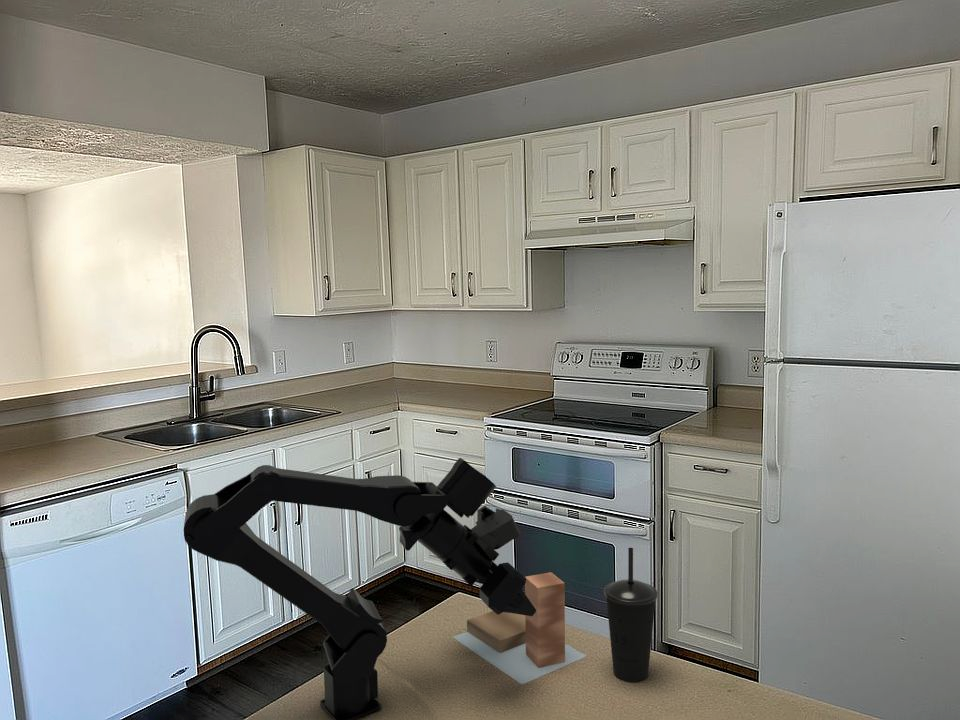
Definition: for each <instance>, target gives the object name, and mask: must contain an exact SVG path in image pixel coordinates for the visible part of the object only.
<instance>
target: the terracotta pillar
mask: <svg viewBox="0 0 960 720" xmlns="http://www.w3.org/2000/svg"><path fill="white" fill-rule="evenodd" d="M524 577H525V578H526V583H525V584H524V593H525V595H526V596H527V598H528V599H529V600H530V602H531V603H532V605H533V606H534V607H535V609H536V612H535V614H534V615H533V616H526V615H525V628H526V655H527V656H528V657H529V658H530V659H531V660H532V662H533V663H534V664H535V665H536V666H537V667H538V668H541V667H546V666H550V665H554V664H559V663H563V662H565V644H566V614H565V613H566V611H565V609H566V608H565V606H566V603H565V602H566V601H565V600H566V599H565V597H566V596H565V589H566V588H565V587H566V586H565V582H564V581H563V580H562V579H560V578H559V577H558V576H556V575H555V574H554V573H553V572H552V571H551V572H550V571H549V572H545V573H539V574H533V575H528V576H524Z"/></svg>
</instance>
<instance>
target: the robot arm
mask: <svg viewBox="0 0 960 720" xmlns="http://www.w3.org/2000/svg"><path fill="white" fill-rule="evenodd" d="M496 488H497V486H496V485H495V483H494V482H493V481H492V480H490V479H489V478H488V477H487V476H486V475H485V474H483V473H482V472H480V471H479V470H477V469H476V468H474V466H473V465H470V463H468V461H466V460H464V459H463V458H462V457H459V458H458V459H457V460H456V462H454V464H453V466H452V467H451V469H450V470H449V472H448V473H447V474H446V475H445V476H444V477H443V478H442V480H441V481H440V482H439V483H438V485H436V484H435V483H434V482H431V481H412V480H411V479H410V478H408V477H406V476H405V475H398V474H397V475H377V476H372V477H367V478H351V477H345V476H338V475H330V474H329V475H328V474H321V473H314V472H307V471H300V470H294V469H285V468H278V467H275V466H272V465H270V464H264V465H262V464H261V465H260V466H257V467H256V468H255V469H254V470H253V471H251V472H249V473H248V474H247V475H245V476H243V477H241V478H240V479H237V480H235V481H233V482H231V483H229V484H227V485H226V486H224V487H223V488H221V489H220V490H218V491H216V492H215V493H213V494H206V495H205V494H204V495H202V496H200V497H197V498H195V499H194V500H193V501H192V502H190V504H189V506H188V507H187V508H186V511H185V515H184V522H183V538H184V541H185V543H186V545H187V546H188V547H189V549H192V550H193V551H195V552H197V553H198V554H199V553H200V554H201V555H203V556H206V557H208V558H210V559H212V560H215V561H217V562H221V563H226V564H230V565H234V566H237V567H239V568H241V569H242V570H244V572H246V573H248V574H250V576H252V577H254V578H255V579H257V581H259V582H261V583H262V584H263V585H264V586H266V587H268V588H270V589H271V590H272V591H273V592H275V593H276V594H278V595H279V596H280V597H282V598H283V599H285V600H286V601H288V602H289V603H290V604H292V605H293V606H295V607H296V608H298V609H299V610H300V611H302V612H303V613H305V614H306V615H308V616H309V618H310V617H311V619H313V620H315V621H316V622H318V624H320V625H321V626H322V627H323V628H324V629H325V631H326V632H327V634H328V636H326V638H325V639H324V640H323V642H322V644H323V647H324V651H325V653H326V656H327V660H328V663H329V664H328V665H325V666H323V682H324V683H323V685H324V699H321V700H320V706H321V708H323V710H324V711H325V712H326V713H327V714H328V715H329V716H330V717H331V719H332V720H357V719H360V718H363V717H365V716H368V715H371V714H373V713H374V712H378V711H380V710H381V709H382V704H381V703H380V702H379V701H378V700H377V699H379V698H378V697H379V681H378V680H379V679H378V678H379V677H378V676H379V675H378V670H377V669H376V668H375V667H376V663H377V661H378V657H380V656H381V655H382V654H383V652H384V651H385V648H386V646H387V642H388V634H387V632H386V630H385V627H384V626H383V624H382V622H383V620H382V617H381V616H380V613H379V611H378V610H377V607H376V606H375V604H374V602H373V600H369V599H366V598H364V597H362V596H361V594H360V593H359V592H357V590H356V589H354V587H352V588H350V590H349V592H348V594H347V595H345V594H340V593H336V592H334V591H332V590H331V589H330V588H329V587H327V586H326V585H324V584H323V583H322V582H320V581H319V580H318V579H316V578H315V577H314V576H312V575H311V574H310V573H308V572H307V571H305V570H304V569H303V568H301V567H300V566H298V565H297V564H295V562H293V561H291V560H290V559H289V558H288V557H286V556H284V555H283V554H282V553H280V552H279V550H278V551H277V550H276V549H275V548H273V547H272V546H271V545H269V544H268V543H266V542H265V541H264V540H263V539H262V538H260V537H258V536H257V535H256V534H255V532H254V531H253V530H252V529H251V527H250V526H249V525H248V523H247V522H249V521H250V520H251V519H252V518H253V517H254V516H255V515H256V514H258V512H259V511H261V510H262V509H263V508H264V507H266V505H268V504H270V503H271V502H280V503H281V502H282V503H290V504H297V505H304V506H305V505H306V506H314V507H323V508H330V509H340V510H347V511H355V512H360V513H362V514H365V515H367V516H369V517H372V518H374V519H376V520H378V521H382V522H386V523H389V524H392V525H394V526H395V525H396V526H398V531H399V533H400V534H399V543H400V544H401V545H402V547H403V548H404V550H406V551H411V549H412V548H413V547H414V545H415V544H416V543H417V542H418V543H419V544H421V545H422V546H423V547H424V548H426V549H427V550H428V551H429V552H431V553H432V554H433V555H434V556H435V557H437V558H438V560H440V561H442V563H443V564H444V565H445V566H446V568H448V569H449V570H450V571H453V572H455V574H457V575H459V576H460V577H461V579H462V580H464V581H465V582H466V584H467V585H469V586H470V587H473V586H474V584H475V583H478V584H480V585H481V586H480V587H479V599H480V600H481V601H482V602H483V603H484V604H485V605H486V606H487V607H488V608H489V609H490V610H491V611H494V612H495V613H496V614H497V615H498V614H501V613H502V612H506V613H514V614H520V615H526V616H533V615H534V614H535V612H536V609H535V607H534V606H533V605H532V603H531V602H530V600H529V599H528V598H527V596H526V595H525V591H524V590H523V587H525V583H526V578H525V577H526V576H525V575H523V574H522V573H521V572H519V570H518V569H516V568H515V567H514V566H513V565H512V564H510V563H509V562H501V563H498V564H496V563H495V561H496V560H497V559H498V557H499V556H500V553H499V552H497V550H499V549H501V548H503V546H505V545H507V544H508V543H510V542H511V541H512V540H516V539H518V538H519V537H520V536H521V532H520V529H519V527H518V525H517V523H516V521H515V519H514V517H513V515H512V514H511V513H509V512H507V511H506V510H505V509H499V508H496V509H495V511H494V510H492V509H491V508H490V507H488V506H486V505H483V504H484V502H485V501H486V500H487V499H488V498H489V496H490V495H491V494H492V493H493V492H494V490H495V489H496ZM482 505H483V506H482ZM446 507H448V508H449V509H450V510H452V512H454V513H455V514H456V515H457V516H459V518H461V519H462V518H463V517H464V516H465V518H467V519H469V518H470V517H473V516H474V514H476V512H477V516H476V517H477V518H476V519H477V520H476V521H475V526H473V527H472V528H469V526H467V525H466V524H464V525H463V524H462V523H461V522H459V521H458V520H457V519H456V518H454V517H453V516H452V514H450V513H449V512H448V511H446V509H445V508H446Z"/></svg>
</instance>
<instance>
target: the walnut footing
mask: <svg viewBox="0 0 960 720" xmlns="http://www.w3.org/2000/svg"><path fill="white" fill-rule="evenodd" d="M466 632H469V633H470V634H472V635H473V636H475V637H476V638H478V639H479V640H481V641H483V642H484V643H486V644H487V645H489V646H490V647H492V648H493V649H495V650H496V651H498V652H499V653H502V652H504V651H507V650H509V649H512V648H514V647H517V646H519V645H522V644H524V643H526V628H525V615H520V614H514V613H506V612H502V613H501V614H498V615H497V614H496V613H495V612H494V611H493V610H491V611H489V612H487V613H484V614H481V615H477V616H475V617H472V618H469V619H466Z"/></svg>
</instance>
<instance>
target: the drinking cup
mask: <svg viewBox="0 0 960 720" xmlns="http://www.w3.org/2000/svg"><path fill="white" fill-rule="evenodd" d="M627 549H628V552H627V554H628V558H627V559H628V562H627V563H628V566H627V567H628V569H627V570H628V571H627V572H628V575H627V578H628V579H621V580H615V581H612V582H610V583H608V584H607V585H605V586H604V589H603V593H604V596H605V598H606V607H607V616H608V617H607V618H608V629H609V639H610V649H611V657H612V659H611V660H612V670H613V675H614V676H615V678H617V679H618V680H620V681H622V682H624V683H625V682H626V683H634V684H636V683H642V682H644V681H646V680H647V679H648V677H649V671H650V670H649V669H650V659H651V658H650V657H651V649H652V638H653V628H654V619H655V618H654V617H655V609H656V608H655V607H656V600H657V599H658V595H659V594H658V590H657V589H656V588H655V587H654V586H652V585H651V584H649V583H647V582H643V581H640V580H636V579H634V548H633V547H628V548H627Z"/></svg>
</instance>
